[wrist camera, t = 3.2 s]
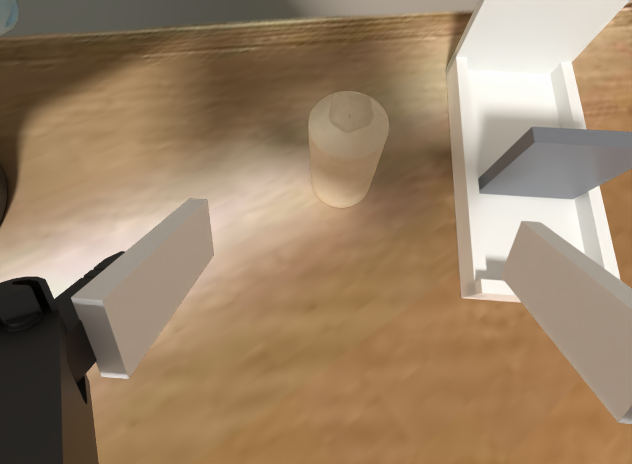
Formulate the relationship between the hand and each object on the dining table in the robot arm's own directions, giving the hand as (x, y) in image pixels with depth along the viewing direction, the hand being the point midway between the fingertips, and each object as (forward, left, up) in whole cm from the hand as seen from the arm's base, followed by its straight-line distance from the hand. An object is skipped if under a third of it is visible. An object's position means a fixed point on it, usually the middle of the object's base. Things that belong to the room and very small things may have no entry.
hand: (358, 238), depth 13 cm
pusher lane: (+16, +12, -13) cm, 24 cm away
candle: (0, +10, -14) cm, 17 cm away
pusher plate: (+16, +9, -12) cm, 22 cm away
